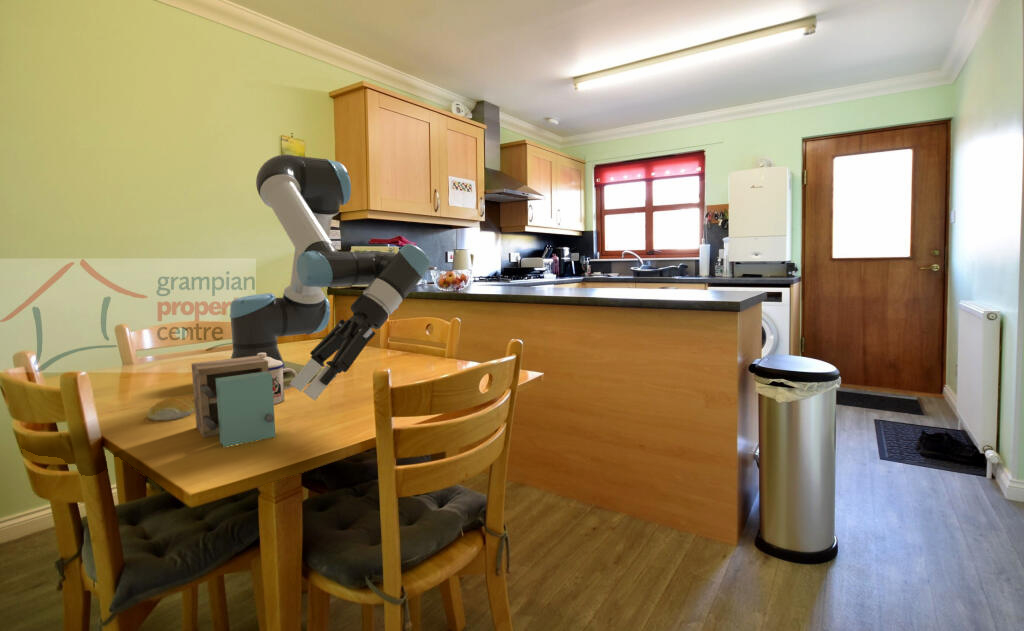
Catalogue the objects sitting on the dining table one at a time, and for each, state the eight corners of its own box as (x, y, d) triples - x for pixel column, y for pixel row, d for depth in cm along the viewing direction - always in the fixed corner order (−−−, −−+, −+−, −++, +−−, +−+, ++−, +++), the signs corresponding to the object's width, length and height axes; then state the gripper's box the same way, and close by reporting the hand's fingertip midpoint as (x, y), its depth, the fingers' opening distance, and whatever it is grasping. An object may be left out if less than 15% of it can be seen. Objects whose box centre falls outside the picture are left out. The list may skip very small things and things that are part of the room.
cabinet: (196, 427, 103) (191, 363, 102) (261, 415, 111) (257, 355, 109) (210, 446, 92) (205, 375, 91) (281, 432, 100) (277, 365, 98)
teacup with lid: (245, 409, 115) (242, 358, 114) (240, 400, 123) (237, 352, 122) (302, 401, 122) (299, 352, 121) (294, 393, 130) (291, 347, 128)
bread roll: (199, 408, 118) (197, 391, 117) (188, 419, 109) (186, 401, 109) (156, 411, 115) (155, 394, 115) (142, 423, 107) (140, 404, 106)
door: (220, 442, 94) (215, 378, 93) (270, 432, 100) (266, 371, 98) (225, 449, 91) (220, 382, 90) (277, 438, 96) (273, 375, 95)
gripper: (410, 321, 104) (335, 414, 96) (367, 312, 120) (299, 392, 112) (385, 296, 100) (304, 391, 92) (344, 290, 116) (271, 371, 108)
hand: (301, 391), depth 102 cm, fingers open, 8 cm apart
